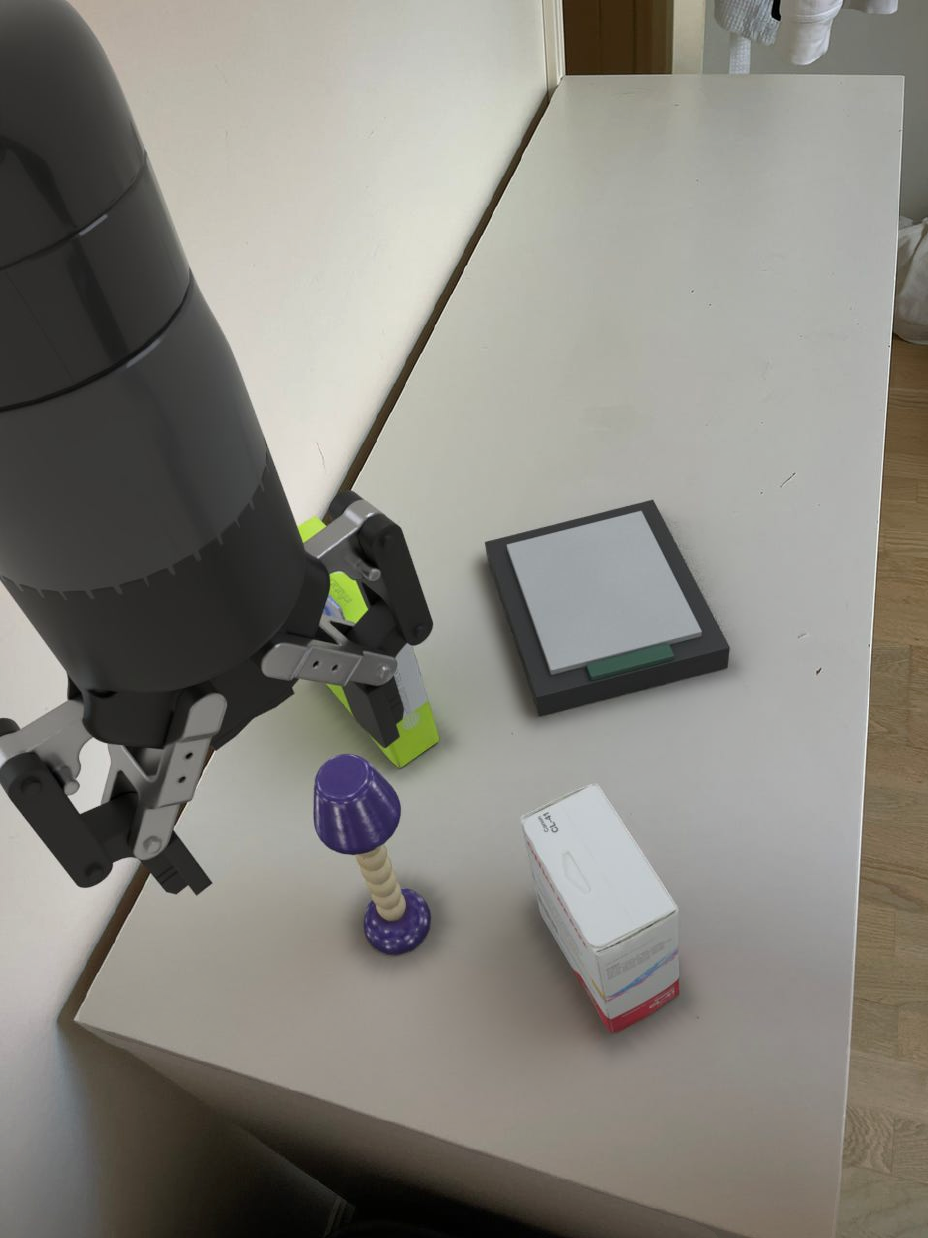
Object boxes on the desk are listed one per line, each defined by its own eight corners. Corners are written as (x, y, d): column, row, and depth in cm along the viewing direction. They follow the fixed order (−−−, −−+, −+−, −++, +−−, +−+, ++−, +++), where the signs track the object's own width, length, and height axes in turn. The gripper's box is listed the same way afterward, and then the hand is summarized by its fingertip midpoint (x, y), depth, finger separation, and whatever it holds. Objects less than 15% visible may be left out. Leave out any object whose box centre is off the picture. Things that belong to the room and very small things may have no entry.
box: (443, 741, 70) (398, 576, 57) (395, 774, 69) (338, 613, 56) (364, 654, 76) (307, 487, 63) (319, 683, 75) (251, 519, 62)
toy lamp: (369, 883, 64) (303, 739, 51) (441, 882, 63) (391, 736, 51) (360, 956, 61) (287, 822, 48) (435, 956, 60) (381, 821, 48)
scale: (728, 668, 71) (730, 642, 69) (538, 717, 70) (535, 692, 68) (653, 520, 81) (653, 493, 79) (487, 562, 81) (483, 536, 79)
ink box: (682, 999, 57) (690, 911, 48) (604, 1041, 56) (598, 960, 47) (605, 874, 62) (599, 774, 53) (533, 910, 61) (515, 816, 52)
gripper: (-102, 729, 20) (176, 1005, 33) (427, 393, 25) (496, 742, 38) (-202, 553, 25) (78, 856, 37) (268, 294, 30) (377, 637, 42)
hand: (289, 798), depth 37 cm, fingers open, 8 cm apart
